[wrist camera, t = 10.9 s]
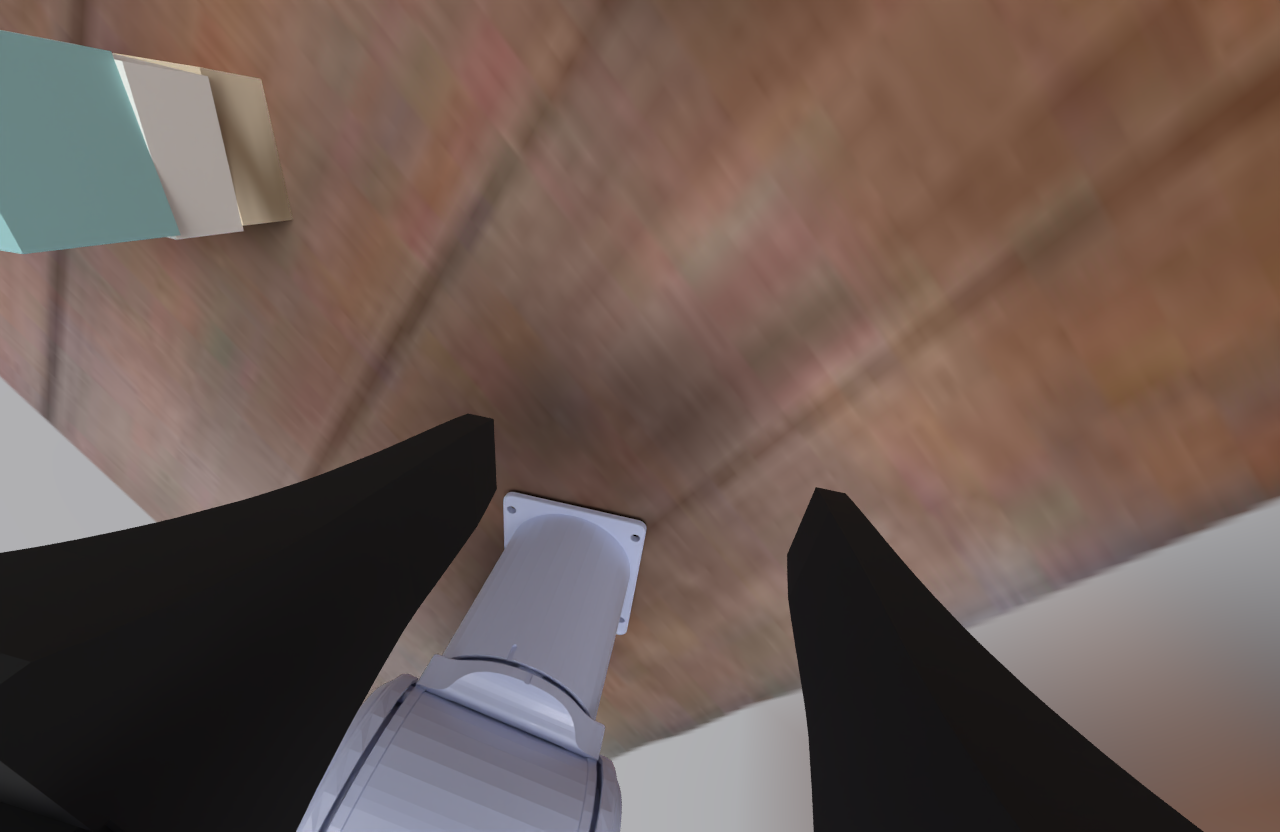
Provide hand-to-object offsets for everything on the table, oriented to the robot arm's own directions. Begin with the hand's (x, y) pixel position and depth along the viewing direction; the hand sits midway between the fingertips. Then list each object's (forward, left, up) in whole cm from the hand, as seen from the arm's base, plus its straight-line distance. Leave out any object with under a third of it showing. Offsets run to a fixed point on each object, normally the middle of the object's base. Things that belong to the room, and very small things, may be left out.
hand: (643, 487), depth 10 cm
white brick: (+4, +20, -8) cm, 22 cm away
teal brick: (+4, +20, -6) cm, 21 cm away
